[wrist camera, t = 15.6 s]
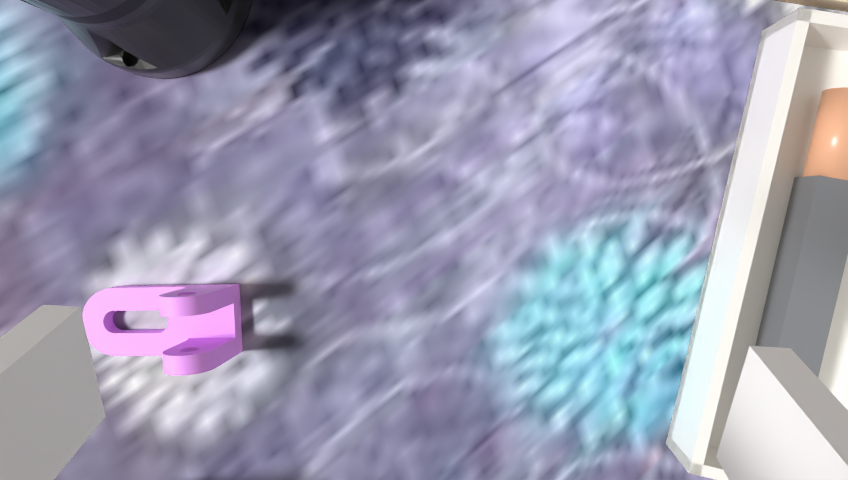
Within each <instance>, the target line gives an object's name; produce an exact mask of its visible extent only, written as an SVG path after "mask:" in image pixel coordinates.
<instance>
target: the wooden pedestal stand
mask: <svg viewBox="0 0 848 480" xmlns="http://www.w3.org/2000/svg"><path fill="white" fill-rule="evenodd" d="M776 1H782V2H789V3H795V4H801V5H808V6H814V7H821V8H827V9H833V10H840V11H846V12H848V0H776Z"/></svg>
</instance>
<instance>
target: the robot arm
mask: <svg viewBox="0 0 848 480" xmlns="http://www.w3.org/2000/svg"><path fill="white" fill-rule="evenodd" d="M22 1H24V2H26V3H29V4H31V5H33V6H36V7H38V8H41V9H43V10H45V11H48V12H50V13H53V14H55V15H56V16H57V17H58V18H59V19H60V20H61V21H62V22H63V23H64V24H65V25H66V26H67V27H68V29H69V30H70V31H71V32H72V33H73V34H74V35H75V36H76V37H77V38H78V39H79V40H80V41H81V42H82V43H83V44H84V45H85V46H86V47H87V48H88V49H89V50H90V51H91V52H93V53H94V54H95V55H97V56H98V57H100V58H101V59H103V60H104V61H106V62H108V63H110V64H111V65H114V66H116V67H118V68H121V69H123V70H126V71H129V72H131V73H134V74H137V75H140V76H144V77H149V78H160V79H166V78H176V77H181V76H185V75H189V74H192V73H194V72H197V71H199V70H201V69H203V68H205V67H206V66H208V65H210V64H211V63H212V62H214V61H215V60H216V59H218V58H219V57H220V56H221V55H222V54H223V53H224V52H225V51H226V50H227V49H228V48H229V47H230V46H231V45H232V43H233V42H234V41H235V39H236V38H237V36H238V35H239V33H240V31H241V29H242V27H243V25H244V23H245V21H246V18H247V16H248V13H249V10H250V6H251V2H252V0H22ZM105 417H106V416H105V412H104V408H103V403H102V399H101V395H100V390H99V386H98V382H97V377H96V373H95V369H94V365H93V360H92V356H91V352H90V347H89V343H88V339H87V334H86V330H85V326H84V322H83V317H82V313H81V309H80V307H71V306H54V305H42V306H41V307H39V308H38V309H37V310H35V311H34V312H33V313H31V314H30V315H29V316H27V317H26V318H25V319H24V320H22V321H21V322H20V323H18V324H17V325H16V326H14V327H13V328H12V329H10V330H9V331H8V332H6V333H5V334H4V335H2V336H1V337H0V480H54V479H55V478H56V476H57V475H58V474H59V473H60V472H61V470H62V469H63V468H64V467H65V466H66V464H67V463H68V462H69V461H70V459H71V458H72V457H73V456H74V455H75V453H76V452H77V451H78V450H79V449H80V447H81V446H82V445H83V444H84V443H85V441H86V440H87V439H88V438H89V436H90V435H91V434H92V433H93V432H94V430H95V429H96V428H97V427H98V426H99V424H100V423H101V422H102V421H103V419H104V418H105ZM716 457H717V459H718V461H719V463H720V465H721V466H722V468H723V470H724V472H725V474H726V476H727V477H728V479H729V480H848V410H847V409H846V408H845V407H844V406H843V404H842V403H841V402H840V401H839V400H838V399H837V398H836V397H835V396H834V395H833V394H832V393H831V391H830V390H829V389H828V388H827V387H826V386H825V385H824V384H823V383H822V382H821V381H820V380H819V378H818V377H817V376H816V375H815V374H814V373H813V372H812V371H811V370H810V369H809V368H808V367H807V365H806V364H805V363H804V362H803V361H802V360H801V359H800V358H799V357H798V356H797V355H796V354H795V353H794V351H793V350H792V349H791V348H779V347H762V346H749V349H748V353H747V356H746V359H745V363H744V366H743V369H742V372H741V376H740V379H739V382H738V386H737V389H736V392H735V395H734V399H733V402H732V405H731V409H730V412H729V415H728V418H727V422H726V425H725V428H724V432H723V435H722V438H721V442H720V445H719V448H718V451H717V455H716Z"/></svg>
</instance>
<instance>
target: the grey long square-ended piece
mask: <svg viewBox="0 0 848 480" xmlns="http://www.w3.org/2000/svg"><path fill="white" fill-rule="evenodd" d="M847 256H848V87H842V88H830V89H826V90H823V91H822V94H821V98H820V102H819V107H818V111H817V115H816V119H815V124H814V128H813V132H812V137H811V141H810V145H809V150H808V154H807V158H806V162H805V167H804V171H803V175H802V177H794V181H793V185H792V190H791V194H790V198H789V203H788V207H787V211H786V216H785V220H784V224H783V229H782V233H781V237H780V241H779V246H778V250H777V254H776V259H775V263H774V267H773V272H772V276H771V280H770V285H769V289H768V293H767V298H766V302H765V306H764V310H763V315H762V319H761V323H760V328H759V332H758V336H757V341H756V345H755V346H762V347H779V348H791V349H792V350H793V351H794V353H795V354H796V355H797V356H798V357H799V358H800V359H801V360H802V361H803V362H804V363H805V364H806V365H807V367H808V368H809V369H810V370H811V371H812V372H813V373H814V374H815V375H816V376H817V377H818V376H819V372H820V367H821V363H822V359H823V355H824V351H825V347H826V343H827V338H828V334H829V330H830V326H831V322H832V318H833V314H834V309H835V305H836V301H837V297H838V293H839V289H840V285H841V280H842V276H843V272H844V268H845V264H846V260H847Z"/></svg>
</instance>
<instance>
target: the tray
mask: <svg viewBox="0 0 848 480" xmlns="http://www.w3.org/2000/svg"><path fill="white" fill-rule="evenodd" d="M842 87H848V15H844V14H838V13H831V12H825V11H819V10H812V9H806V8H798V9H797V10H795V11H793V12H792V13H790V14H788V15H787V16H785V17H784V18H782V19H780V20H779V21H777V22H776V23H774V24H772V25H771V26H769V27H767V28H766V29H764V30H763V31H762V34H761V39H760V43H759V47H758V51H757V56H756V60H755V64H754V69H753V73H752V77H751V81H750V86H749V90H748V94H747V98H746V103H745V107H744V111H743V116H742V120H741V124H740V128H739V133H738V137H737V141H736V146H735V150H734V154H733V158H732V163H731V167H730V171H729V175H728V180H727V184H726V188H725V193H724V197H723V201H722V205H721V210H720V214H719V218H718V222H717V227H716V231H715V235H714V240H713V244H712V248H711V252H710V257H709V261H708V265H707V270H706V274H705V278H704V282H703V287H702V291H701V295H700V299H699V304H698V308H697V312H696V317H695V321H694V325H693V329H692V334H691V338H690V342H689V346H688V351H687V355H686V359H685V364H684V368H683V372H682V376H681V381H680V385H679V389H678V393H677V398H676V402H675V406H674V411H673V415H672V419H671V423H670V428H669V432H668V436H667V441H666V444H667V446H668V447H669V448H670V450H671V451H672V452H673V454H674V455H675V456H676V457H677V459H678V460H679V461H680V463H681V464H682V465H683V466H684V468H685V469H686V470H687V472H688V473H690V474H694V475H698V476H703V477H707V478H712V479H716V480H729V479H728V477H727V476H726V474H725V472H724V470H723V468H722V466H721V465H720V463H719V461H718V459H717V457H716V455H717V451H718V448H719V445H720V442H721V438H722V435H723V432H724V428H725V425H726V422H727V418H728V415H729V412H730V409H731V405H732V402H733V399H734V395H735V392H736V389H737V386H738V382H739V379H740V376H741V372H742V369H743V366H744V363H745V359H746V356H747V353H748V349H749V346H755V345H756V341H757V336H758V332H759V328H760V323H761V319H762V315H763V310H764V306H765V302H766V298H767V293H768V289H769V285H770V280H771V276H772V272H773V267H774V263H775V259H776V254H777V250H778V246H779V241H780V237H781V233H782V229H783V224H784V220H785V216H786V211H787V207H788V203H789V198H790V194H791V190H792V185H793V181H794V177H802V175H803V171H804V167H805V162H806V158H807V154H808V150H809V145H810V141H811V137H812V132H813V128H814V124H815V119H816V115H817V111H818V107H819V102H820V98H821V94H822V91H823V90H826V89H830V88H842ZM818 378H819V380H820V381H821V382H822V383H823V384H824V385H825V386H826V387H827V388H828V389H829V390H830V391H831V393H832V394H833V395H834V396H835V397H836V398H837V399H838V400H839V401H840V402H841V403H842V404H843V406H844V407H845V408H846V409H847V410H848V256H847V260H846V264H845V268H844V272H843V276H842V280H841V285H840V289H839V293H838V297H837V301H836V305H835V309H834V314H833V318H832V322H831V326H830V330H829V334H828V338H827V343H826V347H825V351H824V355H823V359H822V363H821V367H820V372H819V376H818Z"/></svg>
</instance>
